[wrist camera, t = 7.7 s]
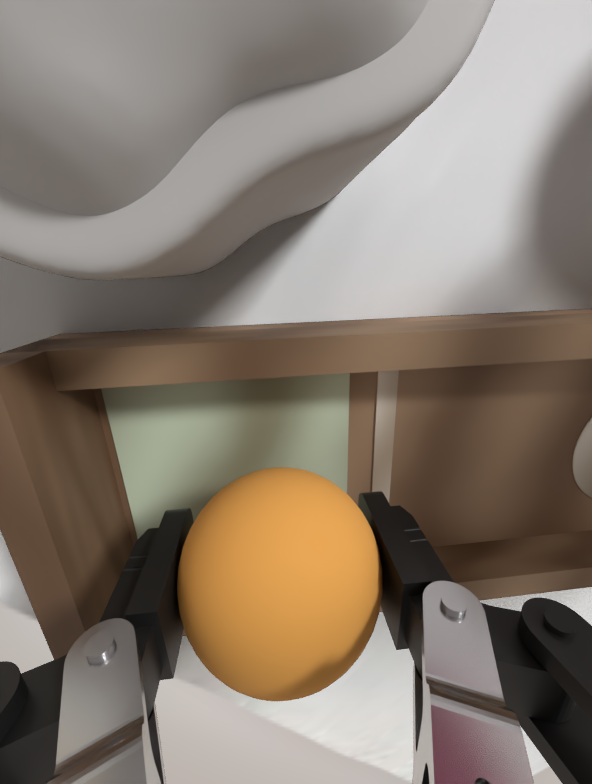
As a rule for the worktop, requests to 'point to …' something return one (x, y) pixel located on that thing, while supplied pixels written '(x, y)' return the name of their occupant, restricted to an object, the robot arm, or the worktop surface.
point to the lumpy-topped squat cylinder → (201, 119)
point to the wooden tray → (301, 441)
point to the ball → (279, 584)
